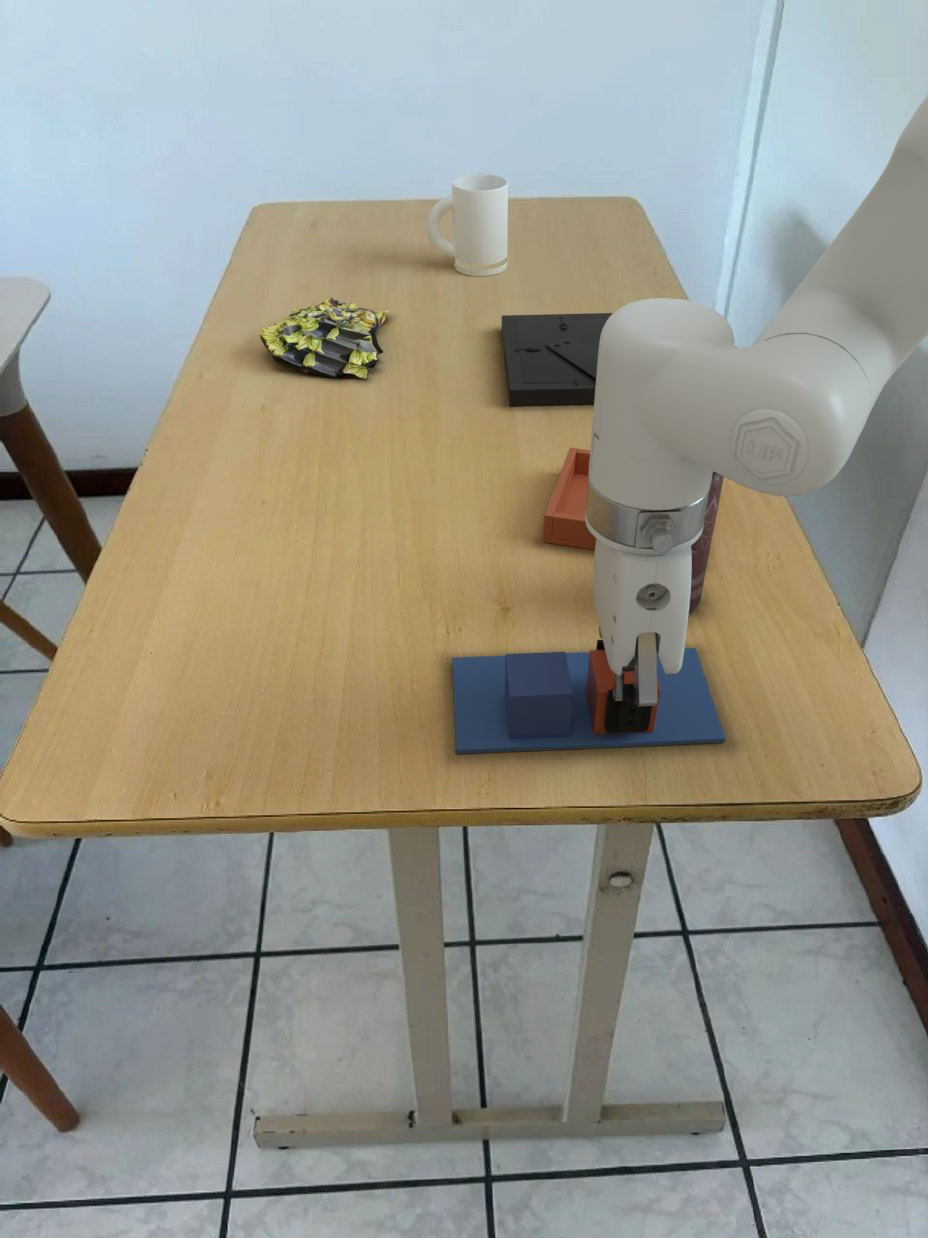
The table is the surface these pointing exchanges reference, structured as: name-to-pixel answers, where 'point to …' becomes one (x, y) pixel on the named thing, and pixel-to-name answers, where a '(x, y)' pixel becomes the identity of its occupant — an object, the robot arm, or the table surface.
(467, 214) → the mug
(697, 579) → the can
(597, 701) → the terracotta block
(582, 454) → the terracotta tray
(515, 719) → the blue block
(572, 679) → the blue mat
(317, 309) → the banana patterned fabric
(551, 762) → the table surface
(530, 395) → the picture frame
